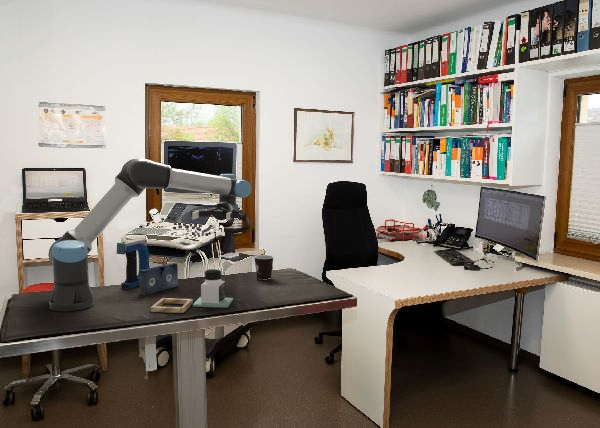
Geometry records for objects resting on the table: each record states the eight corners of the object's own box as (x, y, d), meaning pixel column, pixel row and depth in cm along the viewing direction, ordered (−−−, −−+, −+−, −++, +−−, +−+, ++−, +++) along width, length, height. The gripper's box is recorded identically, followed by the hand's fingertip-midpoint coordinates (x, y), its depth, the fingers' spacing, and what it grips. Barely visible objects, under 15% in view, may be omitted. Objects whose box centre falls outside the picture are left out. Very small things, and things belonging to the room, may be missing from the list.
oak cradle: (150, 311, 179) (150, 307, 179) (162, 302, 191) (162, 298, 191) (183, 312, 178) (183, 308, 178) (193, 303, 190) (192, 299, 190)
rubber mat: (192, 306, 186) (192, 304, 186) (200, 298, 196) (200, 296, 196) (227, 307, 185) (227, 305, 185) (233, 299, 195) (233, 297, 195)
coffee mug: (254, 276, 233) (254, 255, 232) (272, 276, 234) (272, 255, 233) (254, 282, 222) (254, 260, 221) (274, 282, 223) (274, 260, 222)
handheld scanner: (116, 289, 208) (115, 242, 206) (141, 281, 223) (141, 237, 220) (124, 291, 206) (124, 243, 204) (150, 282, 221) (149, 238, 219)
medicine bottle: (219, 304, 186) (219, 272, 185) (200, 303, 188) (200, 271, 186) (225, 298, 193) (225, 268, 192) (207, 297, 195) (207, 267, 193)
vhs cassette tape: (174, 285, 217) (173, 262, 216) (179, 286, 215) (178, 263, 214) (138, 294, 202) (138, 270, 201) (143, 295, 200) (142, 271, 199)
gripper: (251, 220, 217) (241, 226, 196) (194, 218, 219) (179, 225, 198) (251, 202, 217) (241, 207, 196) (194, 201, 219) (178, 206, 197)
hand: (210, 216), depth 197 cm, fingers open, 13 cm apart
